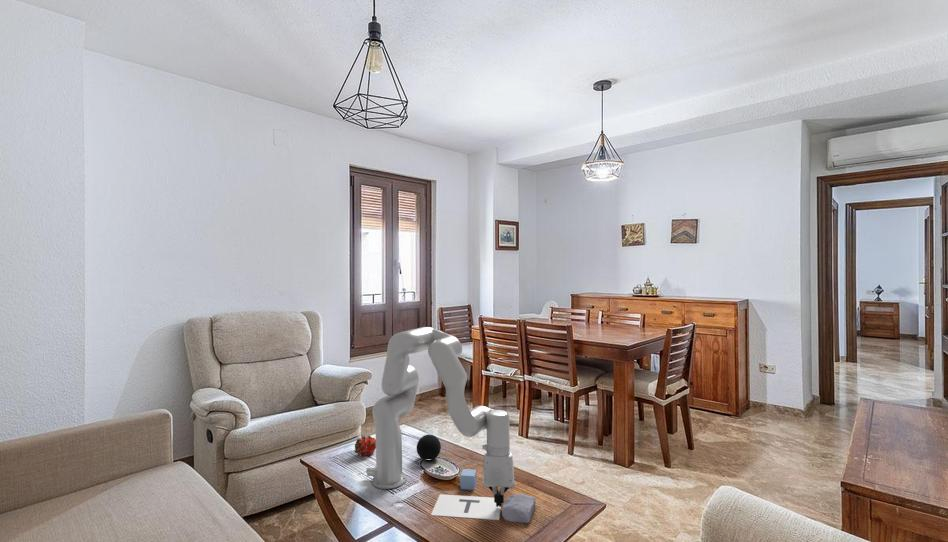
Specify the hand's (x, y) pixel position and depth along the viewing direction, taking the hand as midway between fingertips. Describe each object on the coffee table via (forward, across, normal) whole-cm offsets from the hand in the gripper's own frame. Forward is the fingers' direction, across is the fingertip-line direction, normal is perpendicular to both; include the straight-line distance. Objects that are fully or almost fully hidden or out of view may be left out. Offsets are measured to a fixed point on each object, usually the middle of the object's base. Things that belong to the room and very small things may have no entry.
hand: (499, 504), depth 148 cm
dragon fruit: (+2, -60, +36) cm, 70 cm away
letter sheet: (+1, -10, 0) cm, 10 cm away
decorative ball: (+2, -32, +34) cm, 47 cm away
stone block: (+2, +6, -1) cm, 7 cm away
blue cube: (+2, -12, +14) cm, 19 cm away
